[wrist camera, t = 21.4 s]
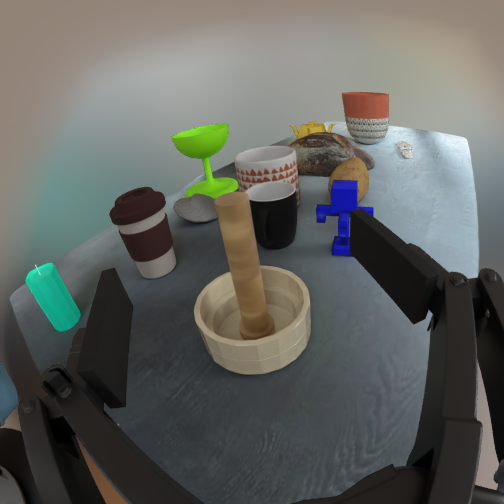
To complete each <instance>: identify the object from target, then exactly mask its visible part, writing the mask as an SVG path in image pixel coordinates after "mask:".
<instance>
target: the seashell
mask: <svg viewBox="0 0 504 504" xmlns="http://www.w3.org/2000/svg"><path fill="white" fill-rule="evenodd" d="M174 210H175V212H176V213H177V215H178V216H180V217H181V218H183V219H185V220H188V221H191V222H209V221H212V220H215V219H216V218H218V216H217V211H216V207H215V199H214V198H212V197H210V196H207V195H203V194H193V195H192V196H191V197H187V198H181V199H179V200H178V201H176V203H175V204H174Z"/></svg>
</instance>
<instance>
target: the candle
mask: <svg viewBox="0 0 504 504" xmlns="http://www.w3.org/2000/svg"><path fill="white" fill-rule="evenodd" d="M35 266H36V265H35ZM26 284H27V285H28V287H29V289H30V291H31V292H32V294H33V296H34V297H35V299H36V300H37V302H38V304H39V305H40V307H41V308H42V310H43V311H44V313H45V314H46V316H47V318H48V319H49V320H50V322H51V323H52V325H53V326H54V328H55V329H56V330H58V331H59V332H62V331H67V330H69V329H71V328H72V327H74V326H75V324H76V323H77V322H78V321H79V319H80V316H81V313H80V310H79V309H78V307H77V305H76V304H75V302H74V300H73V299H72V297H71V295H70V293H69V292H68V290H67V288H66V286H65V285H64V283H63V281H62V279H61V277H60V275H59V273H58V272H57V270H56V268H55V266H54V264H53V263H47V264H44V265H42V266H40V267H38V268H37V267H36V268H35V269H34V270H32V271H30V272H29V274H28V276H27V278H26Z"/></svg>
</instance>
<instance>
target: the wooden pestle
mask: <svg viewBox="0 0 504 504" xmlns="http://www.w3.org/2000/svg"><path fill="white" fill-rule="evenodd" d="M215 207H216V211H217V216H218V220H219V225H220V229H221V234H222V238H223V242H224V247H225V251H226V255H227V260H228V264H229V268H230V272H231V277H232V281H233V285H234V289H235V293H236V298H237V302H238V306H239V310H240V314H241V320H240V322H239V330H240V334H241V337H242V338H243V340H257V339H261V338H264V337H267V336H271V335H274V333H275V325H274V319H273V317H272V316H271V315H270V314H268V312H267V306H266V299H265V293H264V287H263V281H262V275H261V268H260V262H259V256H258V250H257V244H256V238H255V232H254V226H253V220H252V213H251V207H250V201H249V196H248V194H247V193H245V192H230V193H226V194H223V195H221V196H219V197H217V198H216V199H215Z"/></svg>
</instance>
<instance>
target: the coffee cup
mask: <svg viewBox="0 0 504 504" xmlns="http://www.w3.org/2000/svg"><path fill="white" fill-rule="evenodd" d="M165 204H166V201H165V197H164V195H163V194H162V193H161V192H155V191H154V190H153V189H152V188H150V187H142V188H137V189H134V190H132V191H129V192H127V193H125V194H123V195H121V196H120V197H118V198H117V199H116V201H115V207H113V208H112V209H111V211H110V214H109V215H110V218H111V220H112V222H113V224H115V225H117V226H118V228H119V233H120V235H121V238H122V240H123V242H124V244H125V246H126V248H127V250H128V252H129V254H130V256H131V258H132V259H133V260H134V262H135V264H136V266H137V268H138V270H139V272H140V273H141V275H142V276H143V277H145V278H148V279H155V278H159V277H162V276H165V275H166V274H168V273H170V272H171V271H172V270H173V269H174V267H175V265H176V258H175V254H174V250H173V246H172V245H173V241H172V236H171V232H170V228H169V224H168V219H167V215H166V213H165V212H164V206H165Z"/></svg>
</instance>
